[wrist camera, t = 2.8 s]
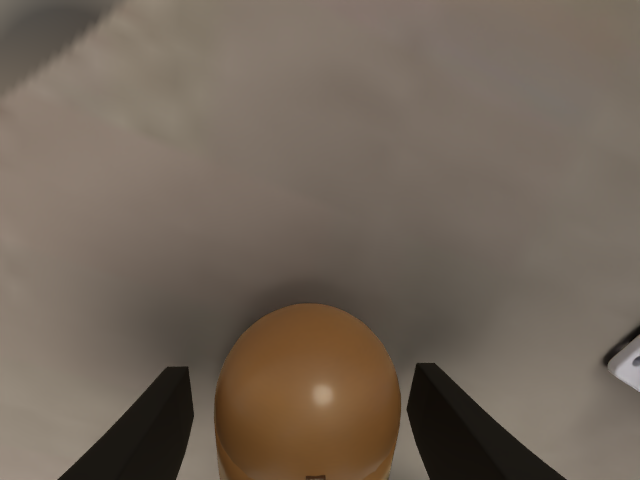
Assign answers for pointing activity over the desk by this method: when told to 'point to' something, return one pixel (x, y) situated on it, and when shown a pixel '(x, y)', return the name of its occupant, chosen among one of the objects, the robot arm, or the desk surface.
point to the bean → (307, 399)
